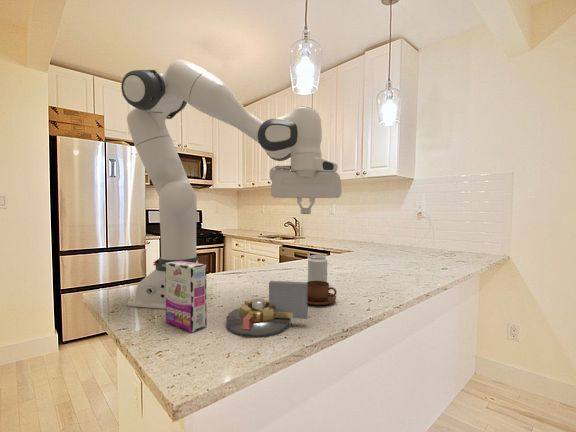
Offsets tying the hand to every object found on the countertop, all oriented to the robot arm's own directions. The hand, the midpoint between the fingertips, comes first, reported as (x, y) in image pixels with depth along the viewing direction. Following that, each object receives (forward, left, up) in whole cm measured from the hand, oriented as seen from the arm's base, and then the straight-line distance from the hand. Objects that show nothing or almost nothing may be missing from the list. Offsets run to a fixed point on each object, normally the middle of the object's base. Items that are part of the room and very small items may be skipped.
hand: (305, 213), depth 85 cm
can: (+7, +29, -29) cm, 42 cm away
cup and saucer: (+5, +11, -30) cm, 32 cm away
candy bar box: (-32, -8, -29) cm, 44 cm away
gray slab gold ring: (-9, -8, -27) cm, 29 cm away
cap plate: (-13, -7, -29) cm, 33 cm away
